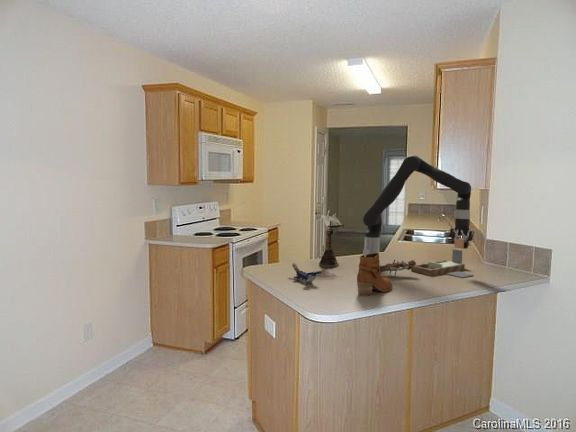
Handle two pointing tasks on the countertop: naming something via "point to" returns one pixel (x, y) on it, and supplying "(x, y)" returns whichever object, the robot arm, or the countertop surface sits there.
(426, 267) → the lane board
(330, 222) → the bird statue
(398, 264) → the figurine
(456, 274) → the pad
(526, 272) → the countertop surface
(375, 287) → the boot
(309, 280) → the toy
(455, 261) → the light green piece
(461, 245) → the cube
